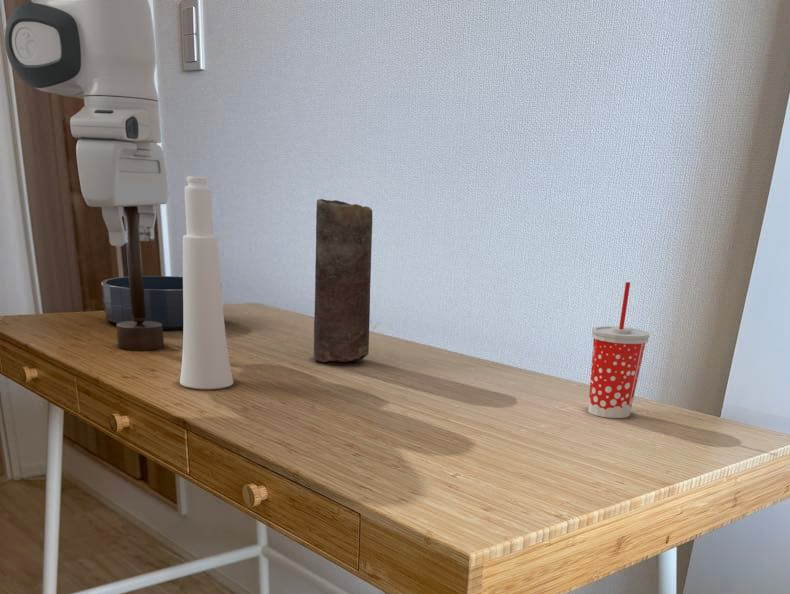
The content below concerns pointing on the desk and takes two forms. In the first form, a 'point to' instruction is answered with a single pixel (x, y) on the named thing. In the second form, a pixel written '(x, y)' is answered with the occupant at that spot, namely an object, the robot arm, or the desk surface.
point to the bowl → (146, 300)
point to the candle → (342, 281)
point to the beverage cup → (615, 366)
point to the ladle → (137, 295)
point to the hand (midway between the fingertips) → (133, 243)
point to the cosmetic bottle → (202, 296)
